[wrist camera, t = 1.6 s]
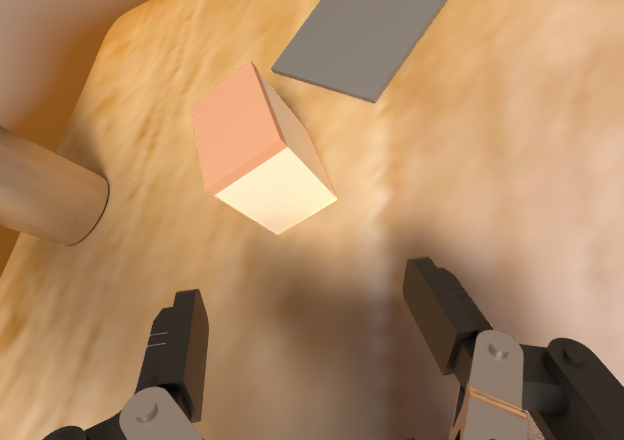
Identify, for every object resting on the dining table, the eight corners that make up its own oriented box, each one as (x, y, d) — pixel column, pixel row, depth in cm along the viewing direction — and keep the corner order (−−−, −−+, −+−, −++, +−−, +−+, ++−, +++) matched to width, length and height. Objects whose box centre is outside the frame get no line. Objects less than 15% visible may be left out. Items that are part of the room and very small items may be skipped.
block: (337, 199, 26) (280, 139, 19) (277, 235, 27) (204, 189, 21) (306, 129, 30) (250, 60, 24) (255, 163, 31) (189, 106, 25)
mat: (273, 72, 35) (270, 68, 35) (379, -74, 36) (378, -79, 36) (374, 103, 27) (372, 99, 27) (505, -83, 28) (505, -90, 28)
